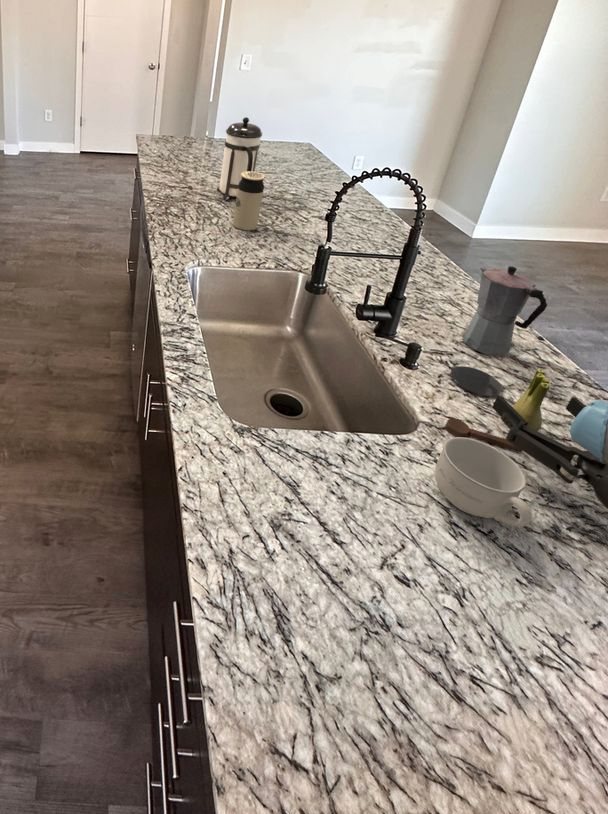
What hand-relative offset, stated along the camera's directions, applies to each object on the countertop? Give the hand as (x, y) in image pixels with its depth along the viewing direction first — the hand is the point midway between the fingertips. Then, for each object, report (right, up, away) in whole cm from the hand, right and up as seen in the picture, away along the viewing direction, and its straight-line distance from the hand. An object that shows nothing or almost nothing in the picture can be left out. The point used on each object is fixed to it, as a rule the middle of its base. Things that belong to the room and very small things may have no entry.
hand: (533, 402), depth 97 cm
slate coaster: (-1, 0, +14) cm, 14 cm away
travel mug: (-29, +33, +83) cm, 94 cm away
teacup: (-20, -13, -13) cm, 27 cm away
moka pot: (+10, +4, +26) cm, 28 cm away
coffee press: (-26, +45, +107) cm, 119 cm away
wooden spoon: (-8, -7, 0) cm, 11 cm away
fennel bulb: (0, -6, +3) cm, 7 cm away
